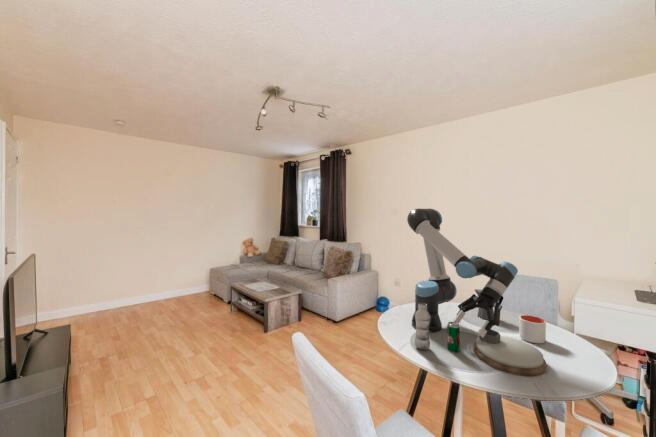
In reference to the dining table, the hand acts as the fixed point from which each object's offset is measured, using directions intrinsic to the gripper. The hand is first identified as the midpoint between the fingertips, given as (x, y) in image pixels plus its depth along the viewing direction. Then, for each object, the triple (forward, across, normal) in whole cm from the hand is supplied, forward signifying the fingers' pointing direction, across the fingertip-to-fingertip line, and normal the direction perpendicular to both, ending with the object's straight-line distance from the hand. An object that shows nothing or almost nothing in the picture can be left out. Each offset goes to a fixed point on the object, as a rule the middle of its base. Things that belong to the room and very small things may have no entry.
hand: (467, 329), depth 116 cm
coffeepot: (-21, +26, -37) cm, 50 cm away
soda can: (+11, +2, -3) cm, 12 cm away
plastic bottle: (+19, +8, +6) cm, 22 cm away
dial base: (-1, -10, -15) cm, 18 cm away
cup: (-19, -1, -35) cm, 40 cm away
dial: (-3, -9, -14) cm, 17 cm away
